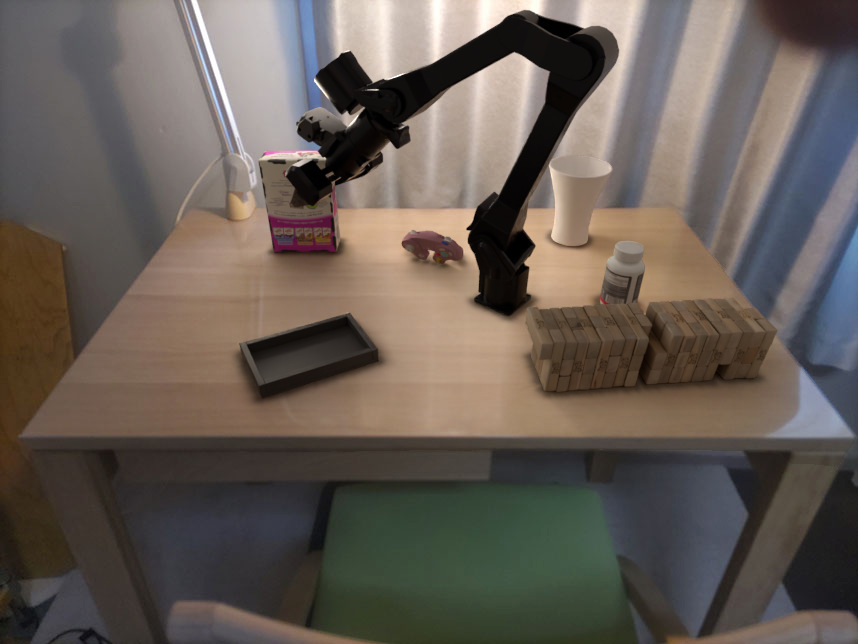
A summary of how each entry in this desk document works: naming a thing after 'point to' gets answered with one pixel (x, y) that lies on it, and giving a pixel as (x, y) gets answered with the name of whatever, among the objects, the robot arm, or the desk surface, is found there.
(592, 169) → the cup
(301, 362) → the tray
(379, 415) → the desk surface
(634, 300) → the pill bottle
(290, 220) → the candy bar box
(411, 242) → the video game controller
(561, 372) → the block tower
